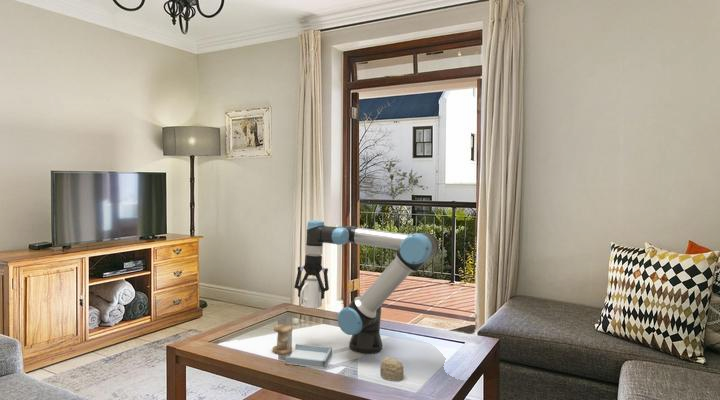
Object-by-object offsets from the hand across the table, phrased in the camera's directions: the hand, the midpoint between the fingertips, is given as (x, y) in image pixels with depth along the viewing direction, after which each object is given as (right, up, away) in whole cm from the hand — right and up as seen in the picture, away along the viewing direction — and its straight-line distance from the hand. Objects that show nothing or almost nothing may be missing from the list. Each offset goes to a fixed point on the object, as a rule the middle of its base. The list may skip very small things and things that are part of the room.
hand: (310, 305), depth 202 cm
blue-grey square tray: (+1, -19, -16) cm, 25 cm away
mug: (-1, -1, 0) cm, 1 cm away
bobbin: (-12, -18, -9) cm, 23 cm away
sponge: (+34, -21, -28) cm, 49 cm away
